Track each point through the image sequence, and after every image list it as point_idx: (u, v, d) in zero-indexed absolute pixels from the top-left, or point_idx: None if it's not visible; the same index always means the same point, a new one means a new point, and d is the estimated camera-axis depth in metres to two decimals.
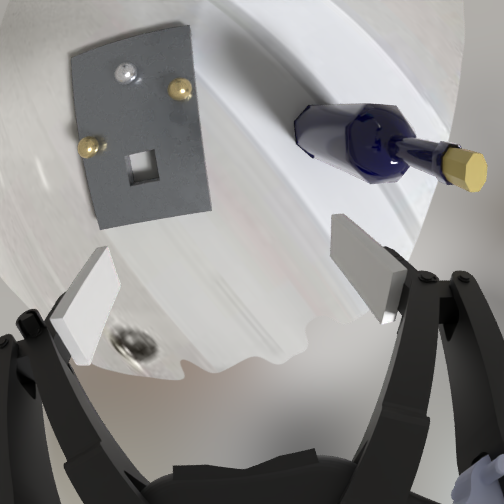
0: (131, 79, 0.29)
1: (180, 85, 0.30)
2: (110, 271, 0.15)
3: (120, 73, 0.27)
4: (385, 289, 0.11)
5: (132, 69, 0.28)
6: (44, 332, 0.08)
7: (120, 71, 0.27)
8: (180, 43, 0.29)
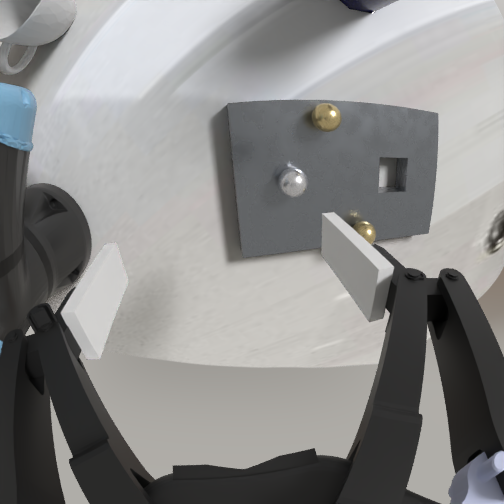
0: (305, 175, 0.29)
1: (329, 114, 0.25)
2: (119, 267, 0.15)
3: (299, 188, 0.28)
4: (372, 286, 0.11)
5: (294, 173, 0.28)
6: (55, 326, 0.09)
7: (296, 188, 0.28)
8: (256, 114, 0.27)
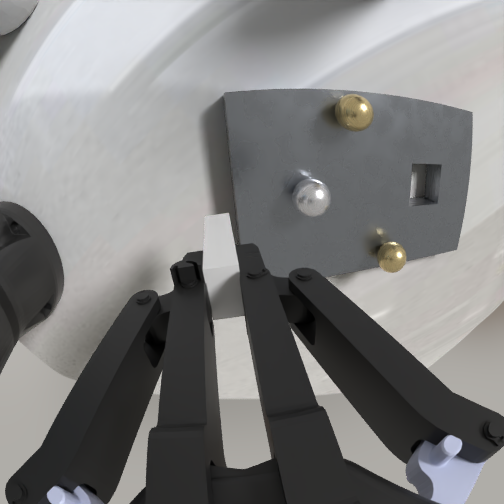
0: (327, 188, 0.22)
1: (360, 109, 0.18)
2: None
3: (321, 206, 0.21)
4: None
5: (314, 186, 0.21)
6: (199, 286, 0.11)
7: (317, 206, 0.21)
8: (263, 106, 0.20)
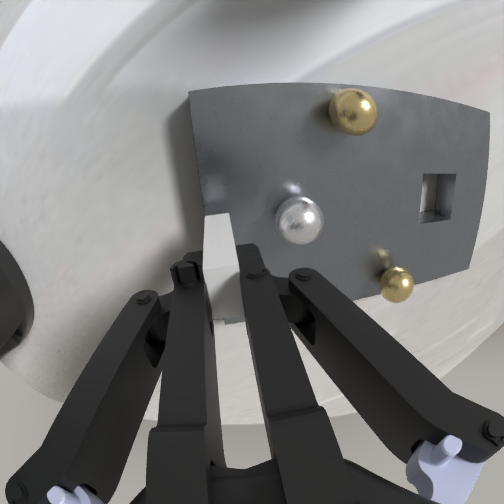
0: (319, 208, 0.18)
1: (361, 106, 0.14)
2: None
3: (310, 233, 0.17)
4: None
5: (302, 207, 0.17)
6: (199, 286, 0.11)
7: (305, 233, 0.17)
8: (236, 107, 0.16)
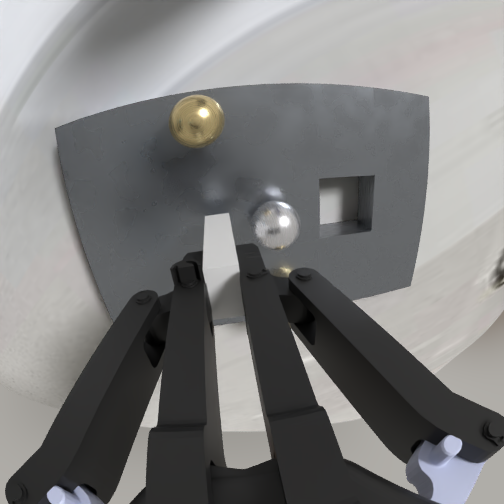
0: (278, 220, 0.17)
1: (188, 116, 0.13)
2: None
3: (255, 235, 0.18)
4: None
5: (261, 209, 0.17)
6: (199, 286, 0.11)
7: (253, 233, 0.18)
8: (91, 136, 0.15)
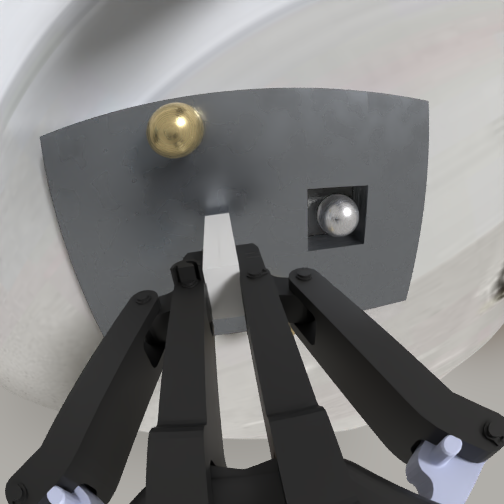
0: (321, 205, 0.20)
1: (164, 126, 0.12)
2: None
3: None
4: None
5: None
6: (199, 286, 0.11)
7: None
8: (74, 145, 0.15)
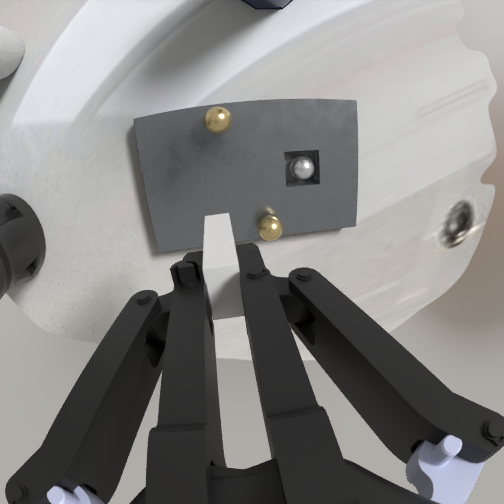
0: None
1: (214, 117, 0.28)
2: None
3: None
4: None
5: None
6: (199, 286, 0.11)
7: None
8: (157, 125, 0.30)
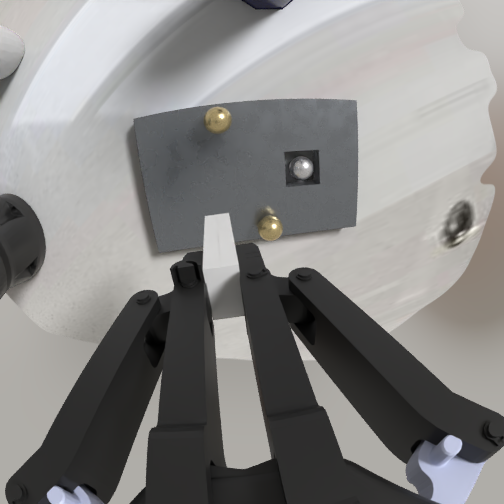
0: (291, 161, 0.35)
1: (214, 117, 0.28)
2: None
3: None
4: None
5: None
6: (199, 286, 0.11)
7: None
8: (157, 125, 0.30)
